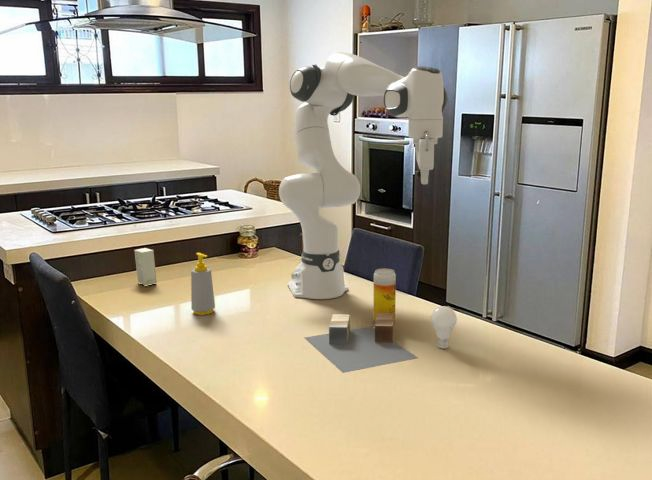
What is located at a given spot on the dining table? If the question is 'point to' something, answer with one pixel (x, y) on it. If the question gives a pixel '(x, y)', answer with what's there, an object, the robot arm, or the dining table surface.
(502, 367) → the dining table surface
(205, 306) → the soap bottle
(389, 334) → the walnut block
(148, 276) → the skincare box
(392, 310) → the beer can
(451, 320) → the lightbulb
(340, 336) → the maple block
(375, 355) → the rubber mat
